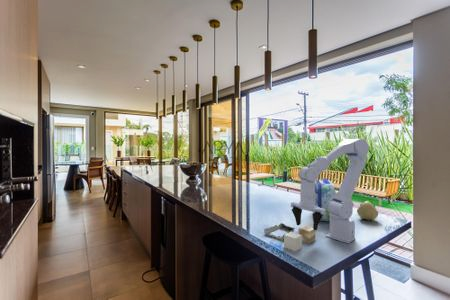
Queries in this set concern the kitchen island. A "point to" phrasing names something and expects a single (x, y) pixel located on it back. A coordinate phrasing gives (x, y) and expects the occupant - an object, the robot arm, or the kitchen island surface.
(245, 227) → the kitchen island surface
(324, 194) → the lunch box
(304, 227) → the oak cube
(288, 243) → the cream cube
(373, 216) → the tan lumpy ball
